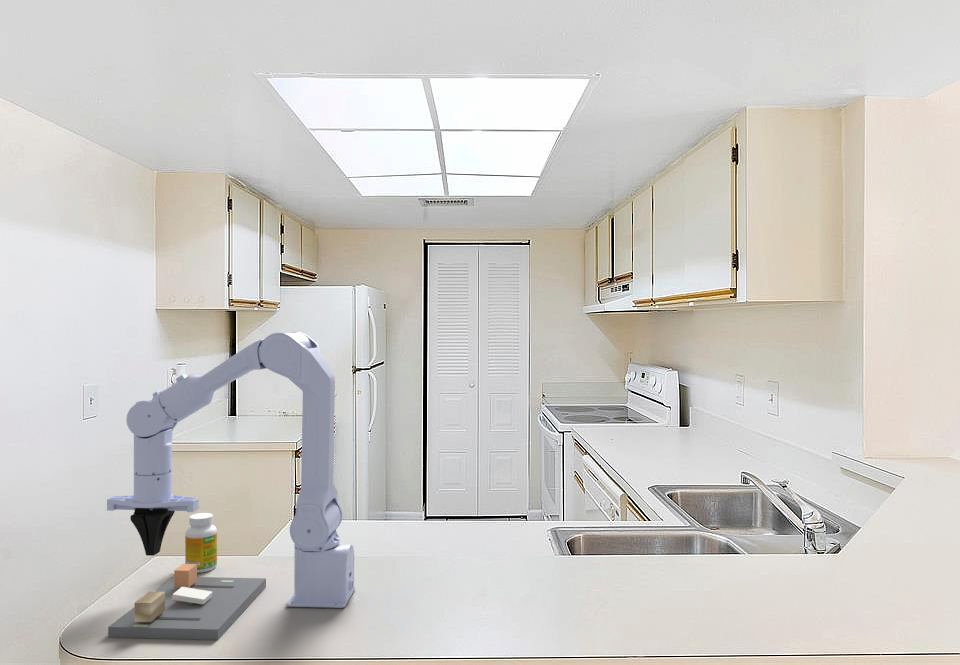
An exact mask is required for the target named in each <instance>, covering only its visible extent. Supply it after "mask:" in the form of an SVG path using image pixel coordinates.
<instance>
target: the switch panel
mask: <svg viewBox="0 0 960 665" xmlns="http://www.w3.org/2000/svg"><path fill="white" fill-rule="evenodd" d="M266 587H267V578H265V577H264V578H263V577H261V578H260V577H225V576H224V577H223V576H222V577H218V576H217V577H214V576H197V581H196V582H195V583H194V584H193V585H191V586H190V587H189V588H193V589H199V590H206V591H212V597H211V598H210V599H209V600H208V601H207V602H206V603H204V604H197V603H191V602H185V601H178V600H172V595H173V594H174V593H175V592H176V591H177V590H178V589H180V588H175V587H174V576H172V577H171V578H170V579H169V580H167V582H164V583H163V584H162V585H161V586H160V587H159V588H157V589H156V590H154V592H165V611H164V612H162V613H161V614H160V615H159V616H158V617H156V618H155V619H154V620H153V621H152V622H135V606H134V607H132V608H131V609H129V610H128V611H127V612H126V613H125V614H123V615H122V616H121V617H119V618H118V619H116V621H114V622H113V623H111V624H110V625H109V626H108V629H107V631H108V632H107V634H108V636H107V637H108V638H122V639H123V638H127V639H128V638H129V639H158V640H159V639H161V640H163V639H164V640H165V639H166V640H167V639H168V640H171V639H172V640H200V641H201V640H204V641H205V640H207V641H208V640H209V641H210V640H211V641H213V640H214V641H218V640H219V639H220V638H221V637H222V636H223V635H224V634H225V633H226V631H227V630H228V629H229V628H230V627H231V626H232V625H233V624H234V623H235V622H236V620H238V619H239V617H240V616H241V615H242V614H243V613H244V611H246V609H247V608H248V607H249V606H250V605H251V604H252V603H253V602H254V601H255V600H256V599H257V598H258V596H259V595H260V594H261V593H262V592H264V590H265V589H266Z"/></svg>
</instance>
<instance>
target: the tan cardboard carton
mask: <svg viewBox="0 0 960 665" xmlns="http://www.w3.org/2000/svg"><path fill="white" fill-rule="evenodd" d="M134 607H135V622H152V621H153V620H154V619H155V618H156V617H158V616H159V615H160V614H161V613H162V612H164V611H165V592H155V591H148V592H147V593H145V594H144V595H143V596H141V597H140V598H139V599H137V600H136V601H135V602H134Z"/></svg>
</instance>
